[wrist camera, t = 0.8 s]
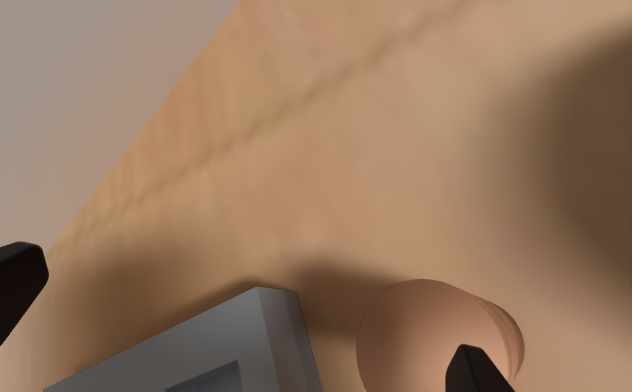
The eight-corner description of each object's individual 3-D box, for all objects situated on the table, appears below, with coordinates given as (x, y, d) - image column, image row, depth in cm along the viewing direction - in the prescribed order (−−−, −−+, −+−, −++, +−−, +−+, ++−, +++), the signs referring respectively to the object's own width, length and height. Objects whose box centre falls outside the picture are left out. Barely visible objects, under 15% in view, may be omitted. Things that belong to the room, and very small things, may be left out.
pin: (542, 373, 17) (540, 417, 9) (457, 398, 18) (385, 456, 10) (497, 287, 19) (461, 256, 11) (422, 315, 20) (339, 308, 12)
